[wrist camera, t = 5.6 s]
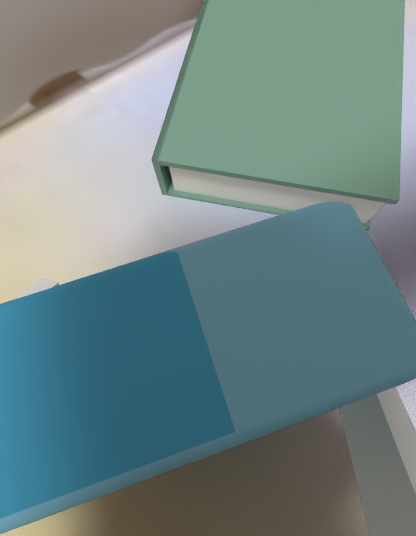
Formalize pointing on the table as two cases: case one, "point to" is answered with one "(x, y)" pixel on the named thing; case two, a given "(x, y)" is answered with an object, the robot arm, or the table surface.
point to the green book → (288, 106)
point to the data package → (192, 356)
